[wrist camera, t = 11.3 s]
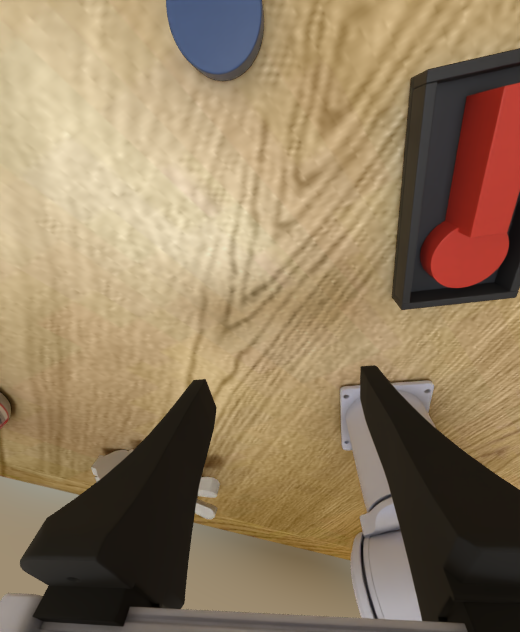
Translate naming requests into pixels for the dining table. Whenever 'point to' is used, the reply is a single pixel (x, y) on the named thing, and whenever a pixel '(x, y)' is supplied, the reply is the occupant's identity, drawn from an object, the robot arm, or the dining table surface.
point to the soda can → (4, 410)
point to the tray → (445, 179)
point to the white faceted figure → (206, 489)
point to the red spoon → (479, 192)
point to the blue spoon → (217, 34)
